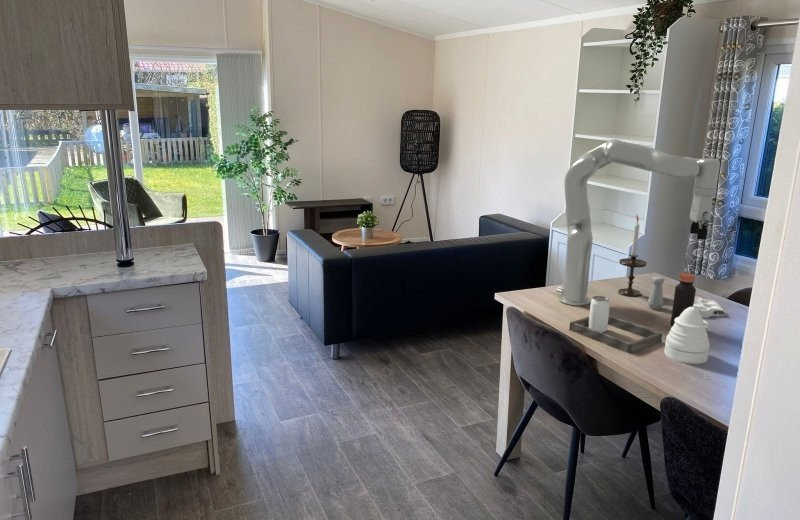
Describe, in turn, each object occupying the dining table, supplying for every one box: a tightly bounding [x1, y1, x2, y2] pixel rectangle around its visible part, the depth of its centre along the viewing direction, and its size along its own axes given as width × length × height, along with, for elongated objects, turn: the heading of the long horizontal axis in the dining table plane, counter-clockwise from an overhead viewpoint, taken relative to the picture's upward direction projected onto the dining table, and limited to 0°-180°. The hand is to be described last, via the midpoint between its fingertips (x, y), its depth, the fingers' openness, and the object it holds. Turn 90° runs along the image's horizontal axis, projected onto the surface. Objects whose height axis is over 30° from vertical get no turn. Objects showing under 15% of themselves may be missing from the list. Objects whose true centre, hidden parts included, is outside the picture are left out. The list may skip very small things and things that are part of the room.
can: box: [588, 295, 611, 333], centre depth 212 cm, size 6×6×12 cm
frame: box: [568, 315, 663, 354], centre depth 207 cm, size 25×18×3 cm
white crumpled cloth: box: [694, 296, 727, 319], centre depth 234 cm, size 3×18×15 cm
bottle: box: [669, 272, 697, 327], centre depth 214 cm, size 7×7×20 cm
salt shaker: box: [647, 276, 665, 311], centre depth 235 cm, size 6×6×13 cm
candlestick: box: [618, 213, 647, 298], centre depth 250 cm, size 11×11×35 cm
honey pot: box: [664, 304, 710, 365], centre depth 190 cm, size 13×13×18 cm
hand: (697, 236), depth 225 cm, fingers open, 9 cm apart
